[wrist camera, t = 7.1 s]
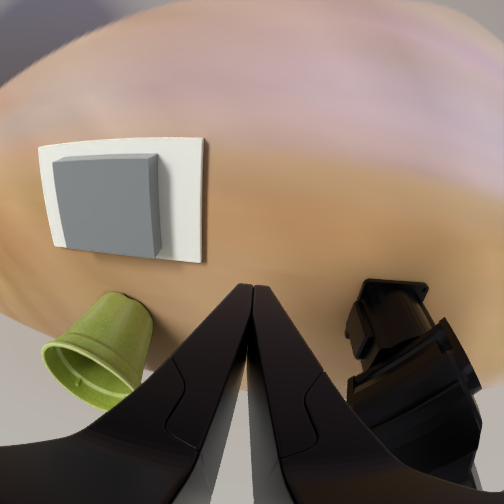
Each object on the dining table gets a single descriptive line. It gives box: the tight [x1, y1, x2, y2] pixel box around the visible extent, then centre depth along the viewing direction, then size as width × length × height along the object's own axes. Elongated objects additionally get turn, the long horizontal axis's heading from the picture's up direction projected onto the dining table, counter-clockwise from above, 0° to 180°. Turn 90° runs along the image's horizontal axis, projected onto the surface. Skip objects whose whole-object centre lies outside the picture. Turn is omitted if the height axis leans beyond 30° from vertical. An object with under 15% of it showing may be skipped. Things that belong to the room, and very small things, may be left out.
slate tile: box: [52, 153, 162, 259], centre depth 18 cm, size 2×7×8 cm
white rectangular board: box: [38, 137, 204, 263], centre depth 19 cm, size 14×9×1 cm, turn 85°
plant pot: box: [41, 292, 153, 412], centre depth 22 cm, size 9×9×9 cm
